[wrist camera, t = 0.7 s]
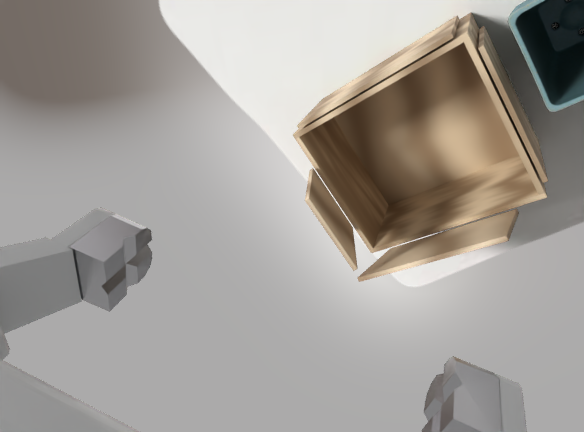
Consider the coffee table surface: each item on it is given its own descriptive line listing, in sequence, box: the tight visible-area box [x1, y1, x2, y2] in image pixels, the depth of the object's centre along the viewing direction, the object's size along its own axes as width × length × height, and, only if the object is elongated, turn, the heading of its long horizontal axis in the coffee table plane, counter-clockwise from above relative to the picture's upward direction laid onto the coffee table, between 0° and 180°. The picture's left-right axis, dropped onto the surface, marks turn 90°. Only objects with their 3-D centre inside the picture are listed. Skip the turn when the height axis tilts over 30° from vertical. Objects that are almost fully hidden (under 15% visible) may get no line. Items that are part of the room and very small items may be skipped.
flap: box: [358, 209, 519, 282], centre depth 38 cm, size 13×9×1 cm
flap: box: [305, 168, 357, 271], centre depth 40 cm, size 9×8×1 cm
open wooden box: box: [293, 13, 548, 253], centre depth 43 cm, size 19×17×10 cm
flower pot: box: [508, 0, 584, 112], centre depth 33 cm, size 9×9×9 cm
